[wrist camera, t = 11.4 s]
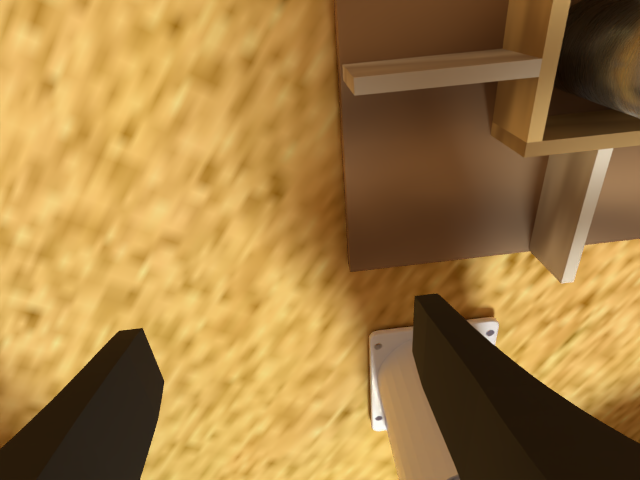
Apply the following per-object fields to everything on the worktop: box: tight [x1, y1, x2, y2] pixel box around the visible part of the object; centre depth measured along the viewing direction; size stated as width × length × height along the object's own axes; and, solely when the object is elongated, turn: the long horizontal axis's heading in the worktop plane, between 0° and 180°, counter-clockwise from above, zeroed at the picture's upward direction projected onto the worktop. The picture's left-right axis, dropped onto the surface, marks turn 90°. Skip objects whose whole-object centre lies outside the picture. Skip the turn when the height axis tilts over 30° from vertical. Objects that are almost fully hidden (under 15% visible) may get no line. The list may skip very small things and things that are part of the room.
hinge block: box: [334, 0, 640, 283], centre depth 17 cm, size 16×16×4 cm
